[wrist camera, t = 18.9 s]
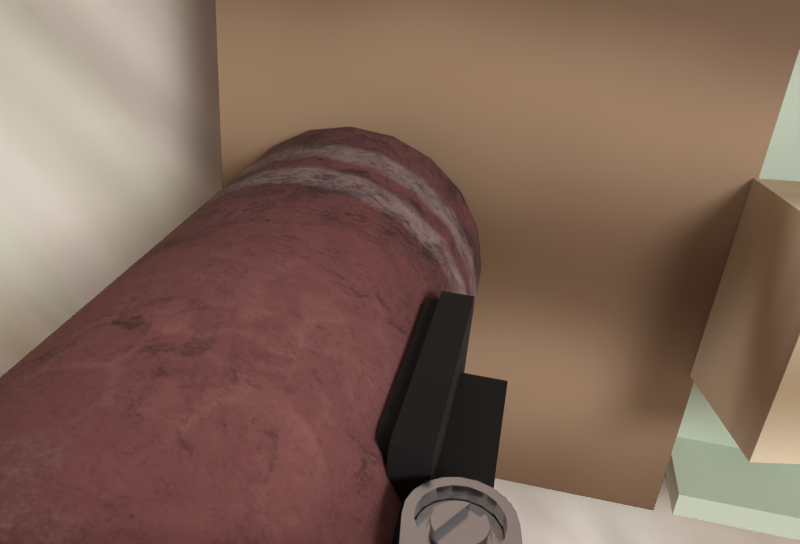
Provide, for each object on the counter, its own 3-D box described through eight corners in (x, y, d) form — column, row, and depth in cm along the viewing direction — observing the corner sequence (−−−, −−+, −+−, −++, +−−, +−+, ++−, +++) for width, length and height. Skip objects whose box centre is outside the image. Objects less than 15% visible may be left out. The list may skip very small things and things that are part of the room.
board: (265, -113, 17) (210, -119, 15) (791, -69, 16) (836, -68, 13) (269, 367, 24) (231, 423, 21) (643, 439, 22) (653, 510, 19)
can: (412, 394, 19) (174, 1266, 7) (203, 273, 19) (-467, 976, 6) (544, 217, 16) (545, 1156, 4) (300, 69, 16) (-567, 616, 3)
